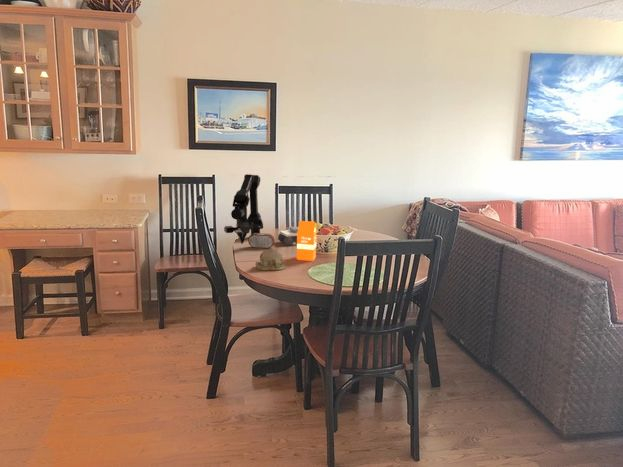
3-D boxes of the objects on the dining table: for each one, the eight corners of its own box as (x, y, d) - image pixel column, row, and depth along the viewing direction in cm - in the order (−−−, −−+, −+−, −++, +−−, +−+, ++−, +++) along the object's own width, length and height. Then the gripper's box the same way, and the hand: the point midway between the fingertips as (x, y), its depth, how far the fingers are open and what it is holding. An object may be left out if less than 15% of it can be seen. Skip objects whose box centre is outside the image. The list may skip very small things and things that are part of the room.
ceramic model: (281, 263, 235) (281, 244, 233) (287, 270, 225) (288, 250, 223) (253, 265, 231) (253, 246, 228) (259, 272, 220) (259, 252, 218)
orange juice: (313, 261, 241) (314, 223, 237) (296, 259, 243) (297, 222, 239) (315, 257, 249) (317, 220, 244) (299, 255, 250) (300, 219, 246)
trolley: (277, 242, 280) (278, 227, 278) (297, 240, 285) (297, 226, 283) (284, 246, 270) (284, 231, 268) (304, 244, 276) (304, 229, 274)
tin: (274, 247, 266) (274, 233, 264) (273, 249, 263) (273, 234, 261) (248, 246, 267) (248, 232, 265) (247, 248, 264) (247, 233, 262)
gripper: (229, 219, 245) (229, 248, 249) (262, 217, 253) (262, 245, 256) (223, 216, 255) (224, 243, 258) (256, 214, 263) (256, 241, 266)
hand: (242, 243), depth 260 cm, fingers closed
